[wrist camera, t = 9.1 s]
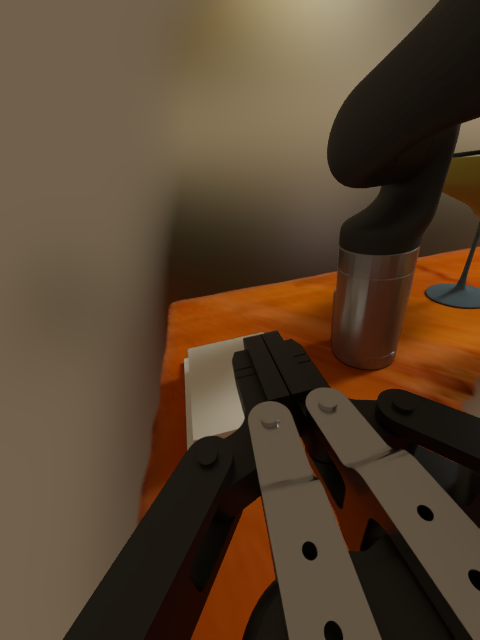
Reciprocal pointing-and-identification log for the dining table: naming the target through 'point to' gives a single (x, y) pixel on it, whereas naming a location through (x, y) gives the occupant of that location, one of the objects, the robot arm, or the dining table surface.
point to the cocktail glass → (476, 191)
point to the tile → (215, 389)
